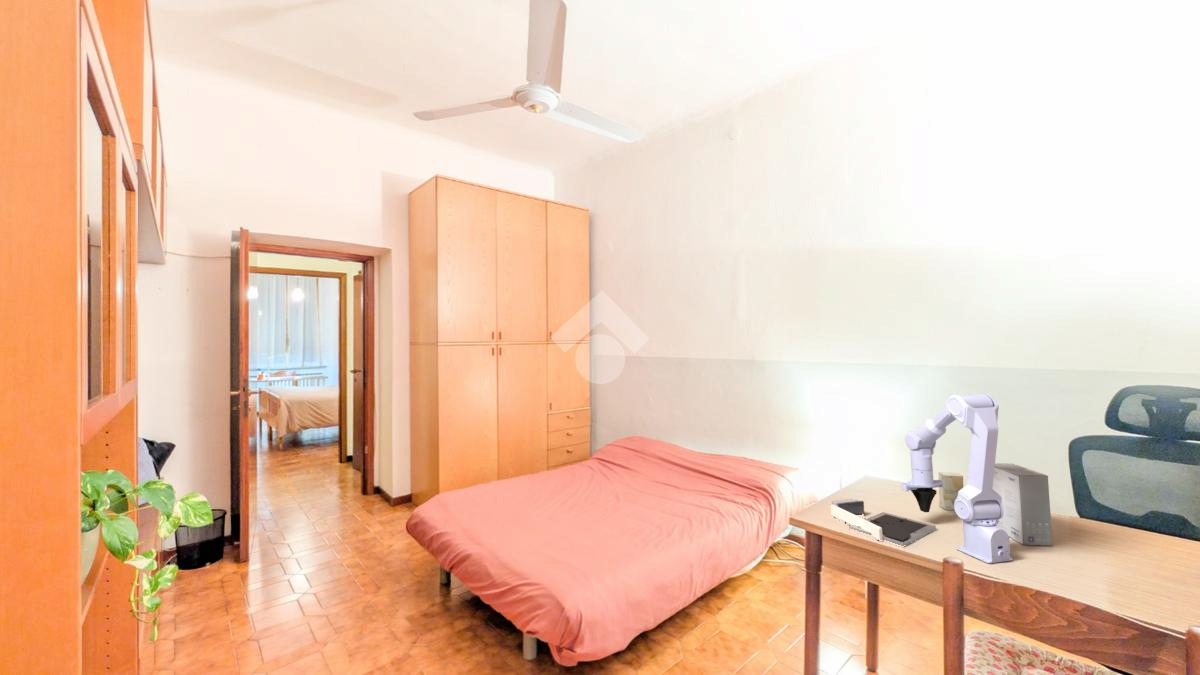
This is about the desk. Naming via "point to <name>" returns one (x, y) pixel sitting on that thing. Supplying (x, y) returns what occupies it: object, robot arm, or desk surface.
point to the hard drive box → (1024, 504)
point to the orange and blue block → (843, 501)
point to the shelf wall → (857, 521)
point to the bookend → (853, 507)
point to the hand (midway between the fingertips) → (924, 511)
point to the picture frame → (898, 528)
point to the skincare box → (949, 489)
